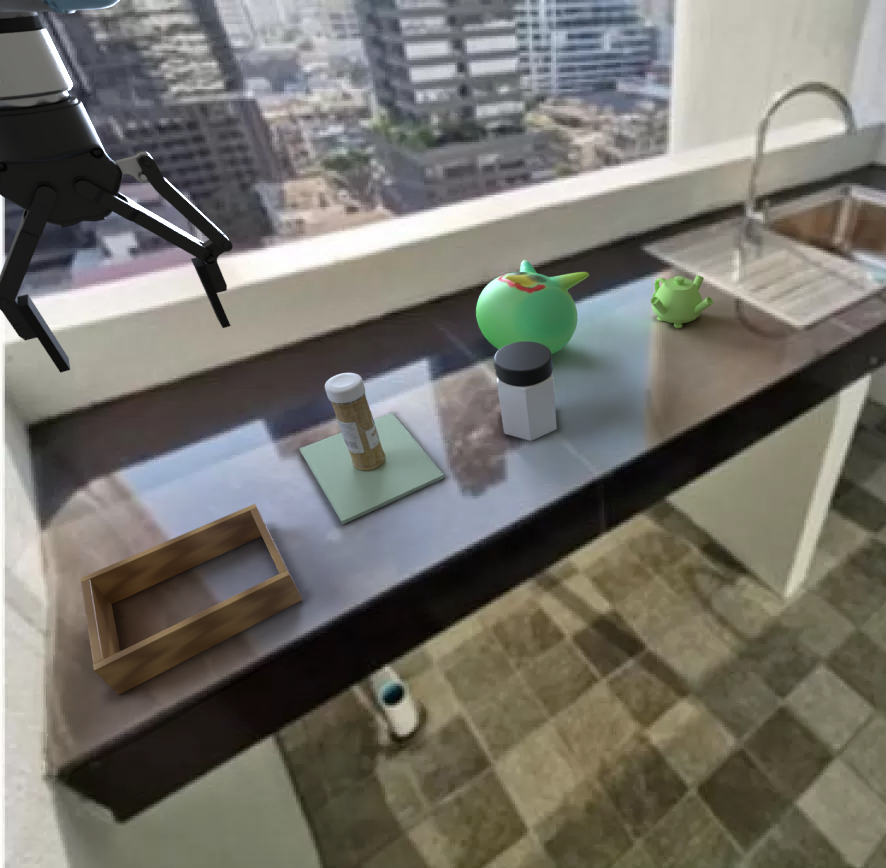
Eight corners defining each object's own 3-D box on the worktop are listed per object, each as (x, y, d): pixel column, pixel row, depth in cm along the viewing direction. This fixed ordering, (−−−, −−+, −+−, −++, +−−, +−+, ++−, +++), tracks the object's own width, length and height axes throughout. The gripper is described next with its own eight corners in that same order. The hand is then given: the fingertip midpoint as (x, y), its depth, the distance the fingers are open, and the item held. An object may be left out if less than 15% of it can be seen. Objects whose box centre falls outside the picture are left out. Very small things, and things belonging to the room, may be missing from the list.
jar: (540, 400, 96) (534, 333, 89) (569, 425, 91) (565, 357, 84) (490, 421, 92) (480, 353, 85) (518, 448, 87) (509, 379, 80)
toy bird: (463, 352, 108) (449, 275, 99) (527, 316, 119) (520, 243, 109) (538, 386, 100) (531, 304, 90) (600, 344, 110) (599, 267, 101)
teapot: (645, 305, 122) (647, 265, 116) (702, 304, 122) (706, 264, 116) (649, 332, 113) (651, 291, 108) (710, 332, 113) (715, 290, 108)
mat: (444, 477, 82) (444, 474, 82) (343, 524, 76) (341, 521, 75) (392, 415, 94) (392, 412, 93) (300, 451, 87) (299, 448, 87)
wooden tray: (118, 695, 59) (93, 670, 56) (102, 603, 67) (80, 577, 64) (302, 600, 67) (289, 574, 64) (268, 528, 75) (255, 503, 73)
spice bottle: (392, 461, 84) (368, 381, 76) (361, 476, 82) (333, 395, 73) (376, 446, 87) (351, 367, 78) (346, 460, 84) (317, 380, 76)
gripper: (190, 76, 54) (271, 295, 68) (-203, 112, 43) (-13, 368, 56) (207, 87, 50) (291, 319, 63) (-230, 129, 38) (-15, 405, 51)
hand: (148, 343), depth 59 cm, fingers open, 13 cm apart
